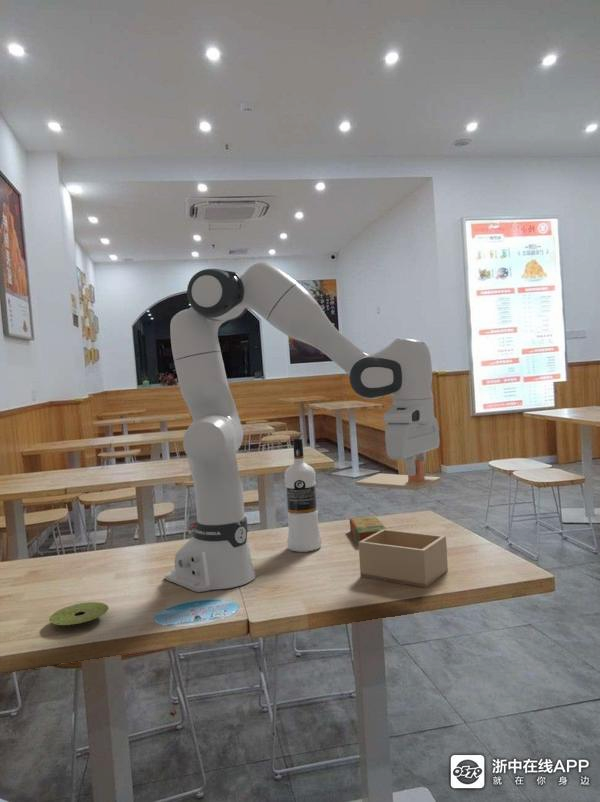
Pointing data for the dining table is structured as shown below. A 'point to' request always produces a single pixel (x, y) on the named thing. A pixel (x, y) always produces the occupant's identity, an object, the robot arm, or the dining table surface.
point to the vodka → (301, 503)
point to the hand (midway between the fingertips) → (415, 473)
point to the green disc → (78, 613)
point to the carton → (364, 527)
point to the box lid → (401, 480)
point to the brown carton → (403, 557)
